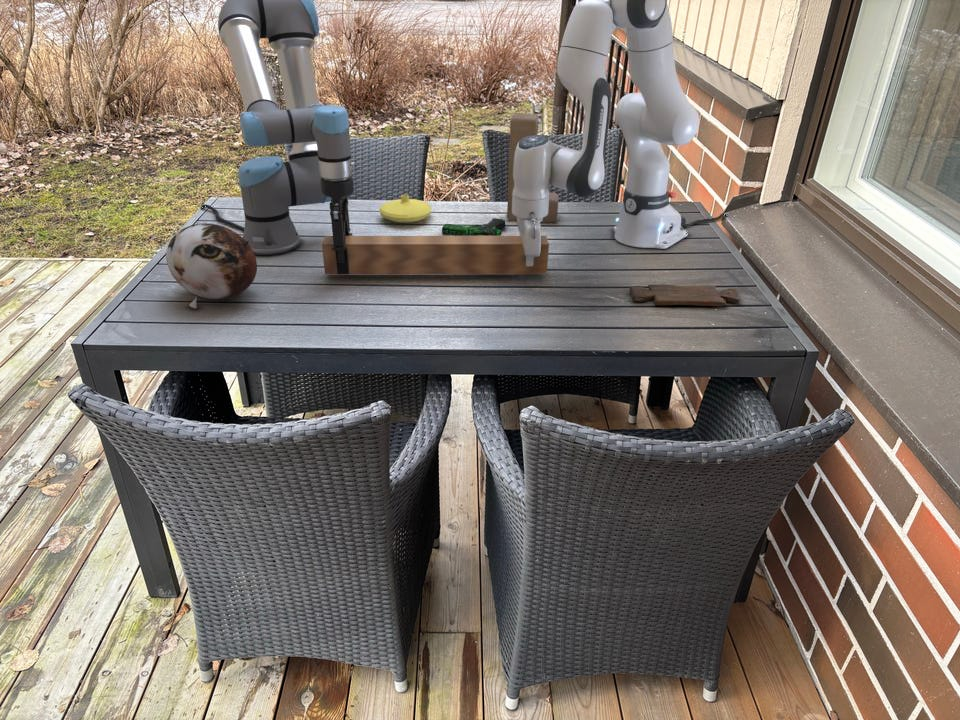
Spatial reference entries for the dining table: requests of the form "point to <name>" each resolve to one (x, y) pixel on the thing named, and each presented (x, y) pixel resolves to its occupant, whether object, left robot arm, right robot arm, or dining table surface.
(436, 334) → the dining table surface
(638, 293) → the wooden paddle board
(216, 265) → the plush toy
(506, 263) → the bar
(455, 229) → the handgun
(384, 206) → the yellow knobbed lid
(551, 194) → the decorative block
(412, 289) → the dining table surface
